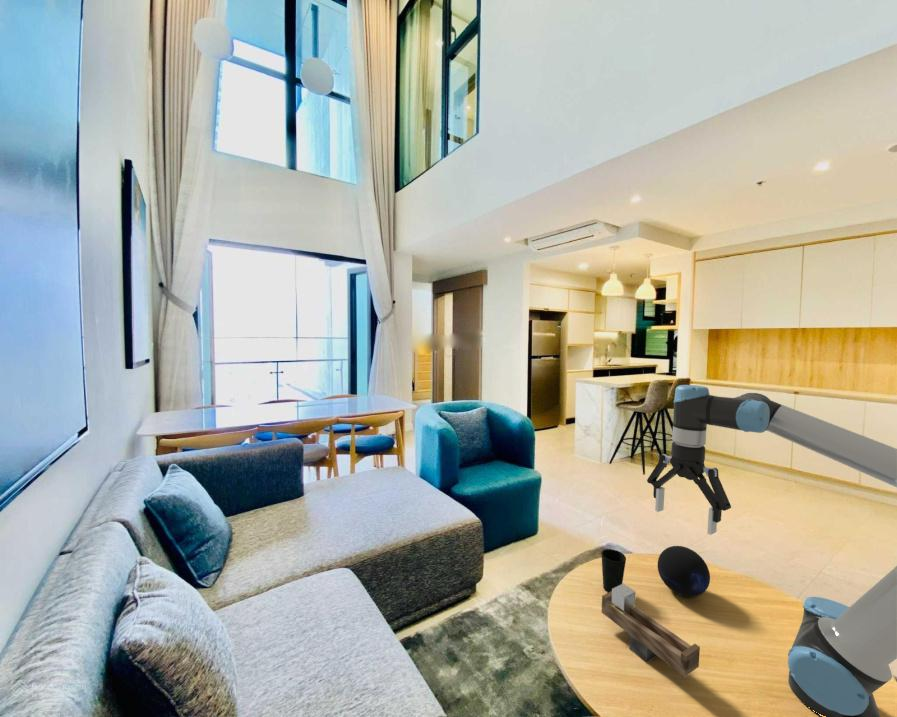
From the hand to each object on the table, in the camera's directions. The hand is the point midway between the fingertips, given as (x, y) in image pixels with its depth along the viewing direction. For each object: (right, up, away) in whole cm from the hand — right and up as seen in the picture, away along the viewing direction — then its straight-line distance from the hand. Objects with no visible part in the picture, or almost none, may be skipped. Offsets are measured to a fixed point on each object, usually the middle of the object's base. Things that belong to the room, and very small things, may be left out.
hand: (684, 521), depth 101 cm
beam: (-9, -37, +2) cm, 38 cm away
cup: (-8, -35, +27) cm, 45 cm away
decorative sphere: (+16, -36, +26) cm, 47 cm away
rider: (-13, -30, +8) cm, 33 cm away
